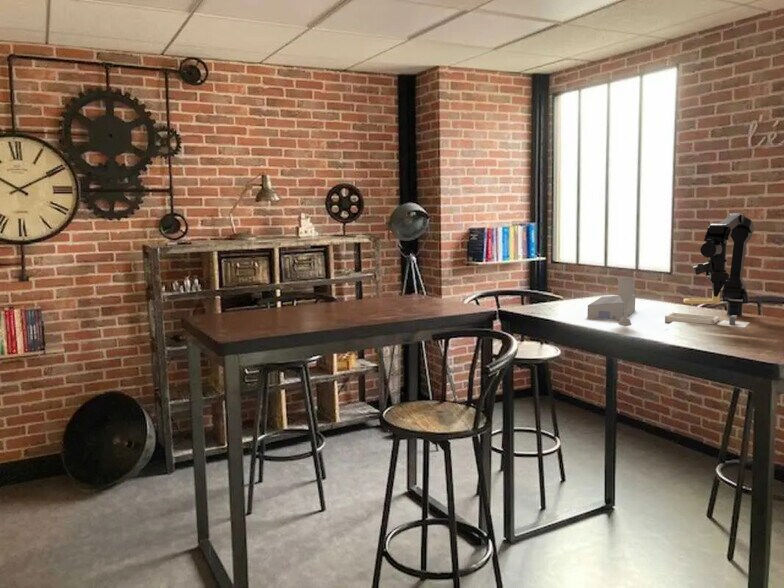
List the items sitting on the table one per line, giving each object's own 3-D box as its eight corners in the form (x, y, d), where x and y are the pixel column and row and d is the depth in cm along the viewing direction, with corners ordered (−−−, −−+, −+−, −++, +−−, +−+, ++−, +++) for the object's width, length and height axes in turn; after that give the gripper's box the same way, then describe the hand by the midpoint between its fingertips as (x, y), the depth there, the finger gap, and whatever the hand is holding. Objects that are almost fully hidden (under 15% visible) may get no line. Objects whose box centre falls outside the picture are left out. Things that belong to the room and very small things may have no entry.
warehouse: (601, 309, 299) (602, 292, 298) (634, 311, 293) (635, 294, 292) (587, 318, 273) (587, 300, 272) (623, 321, 266) (624, 302, 265)
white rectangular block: (722, 322, 259) (723, 312, 259) (749, 325, 253) (750, 314, 253) (716, 327, 249) (716, 317, 248) (744, 330, 243) (744, 319, 243)
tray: (672, 318, 270) (672, 312, 269) (719, 322, 259) (719, 316, 259) (664, 322, 261) (665, 316, 260) (713, 326, 250) (713, 320, 250)
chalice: (621, 325, 254) (623, 279, 251) (611, 323, 260) (613, 278, 258) (638, 324, 256) (640, 279, 253) (627, 322, 262) (629, 277, 260)
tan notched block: (720, 303, 252) (720, 291, 251) (685, 303, 256) (685, 291, 255) (718, 301, 258) (718, 290, 257) (683, 301, 262) (683, 289, 261)
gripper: (692, 254, 264) (690, 292, 266) (697, 257, 247) (695, 298, 249) (722, 255, 261) (720, 293, 263) (730, 258, 243) (728, 299, 245)
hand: (715, 296), depth 255 cm, fingers closed on tan notched block
